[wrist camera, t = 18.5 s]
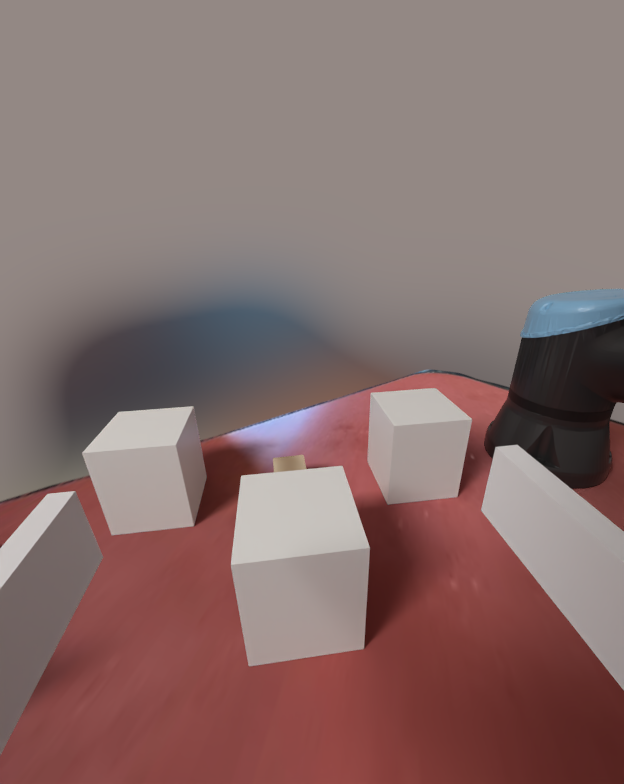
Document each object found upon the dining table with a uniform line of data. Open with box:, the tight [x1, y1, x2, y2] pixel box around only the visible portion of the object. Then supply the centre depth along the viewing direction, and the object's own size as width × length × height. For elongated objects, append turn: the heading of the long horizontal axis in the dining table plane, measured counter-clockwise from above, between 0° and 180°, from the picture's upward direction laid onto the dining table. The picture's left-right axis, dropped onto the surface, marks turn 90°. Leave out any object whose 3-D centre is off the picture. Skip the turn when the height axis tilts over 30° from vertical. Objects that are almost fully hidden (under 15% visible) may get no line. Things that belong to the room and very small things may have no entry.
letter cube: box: [273, 455, 306, 472], centre depth 43 cm, size 4×4×4 cm
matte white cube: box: [367, 388, 472, 505], centre depth 43 cm, size 9×9×11 cm
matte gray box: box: [82, 407, 207, 535], centre depth 40 cm, size 9×9×11 cm
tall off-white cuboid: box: [231, 466, 370, 666], centre depth 28 cm, size 9×9×11 cm
